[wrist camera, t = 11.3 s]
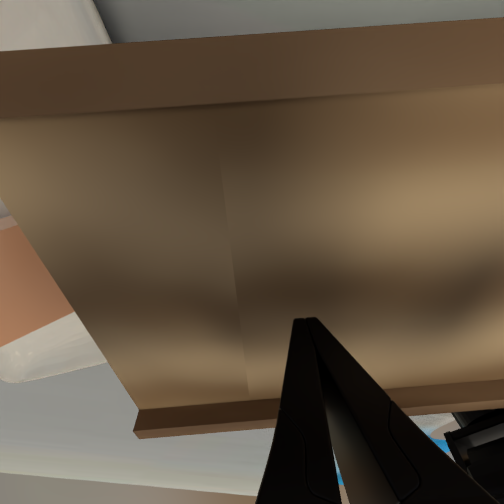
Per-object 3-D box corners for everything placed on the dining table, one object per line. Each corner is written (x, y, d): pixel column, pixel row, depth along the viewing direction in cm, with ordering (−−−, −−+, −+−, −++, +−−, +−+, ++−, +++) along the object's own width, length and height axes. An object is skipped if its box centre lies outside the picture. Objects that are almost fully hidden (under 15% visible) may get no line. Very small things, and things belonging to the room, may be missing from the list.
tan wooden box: (436, 290, 21) (547, 404, 14) (173, 311, 21) (139, 439, 13) (555, 42, 12) (1075, -21, 5) (94, 74, 12) (-149, 61, 4)
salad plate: (248, 298, 21) (250, 332, 18) (34, 354, 24) (6, 391, 21) (80, -82, 10) (14, -152, 7) (-304, 108, 12) (-469, 117, 9)
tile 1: (93, 282, 15) (97, 300, 14) (-9, 329, 13) (-17, 355, 12) (41, 206, 12) (39, 217, 11) (-100, 249, 10) (-125, 271, 9)
